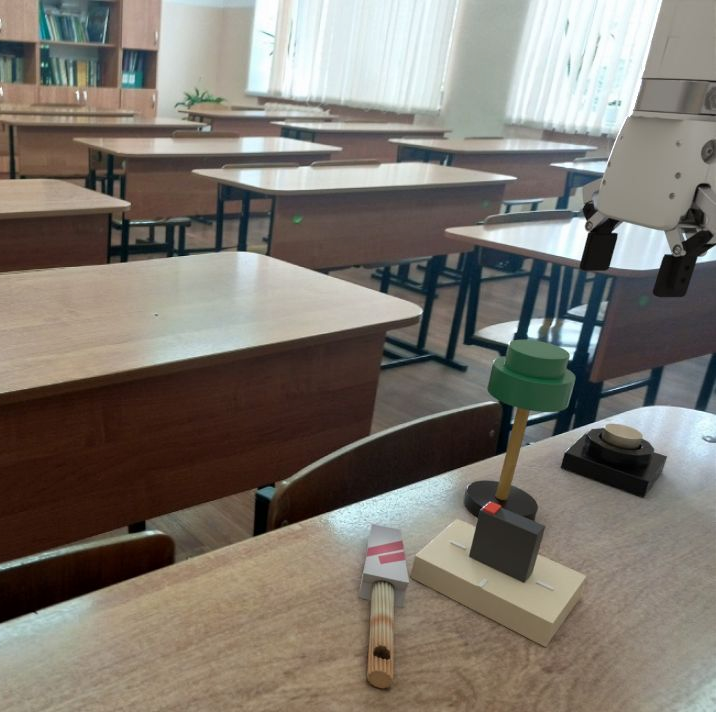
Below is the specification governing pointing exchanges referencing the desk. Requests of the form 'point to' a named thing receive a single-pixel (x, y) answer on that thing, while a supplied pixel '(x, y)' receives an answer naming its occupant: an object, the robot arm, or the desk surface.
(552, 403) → the desk lamp
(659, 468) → the lamp switch
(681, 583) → the desk surface
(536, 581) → the dimmer
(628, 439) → the button
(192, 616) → the desk surface
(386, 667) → the paintbrush
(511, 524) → the dimmer knob
